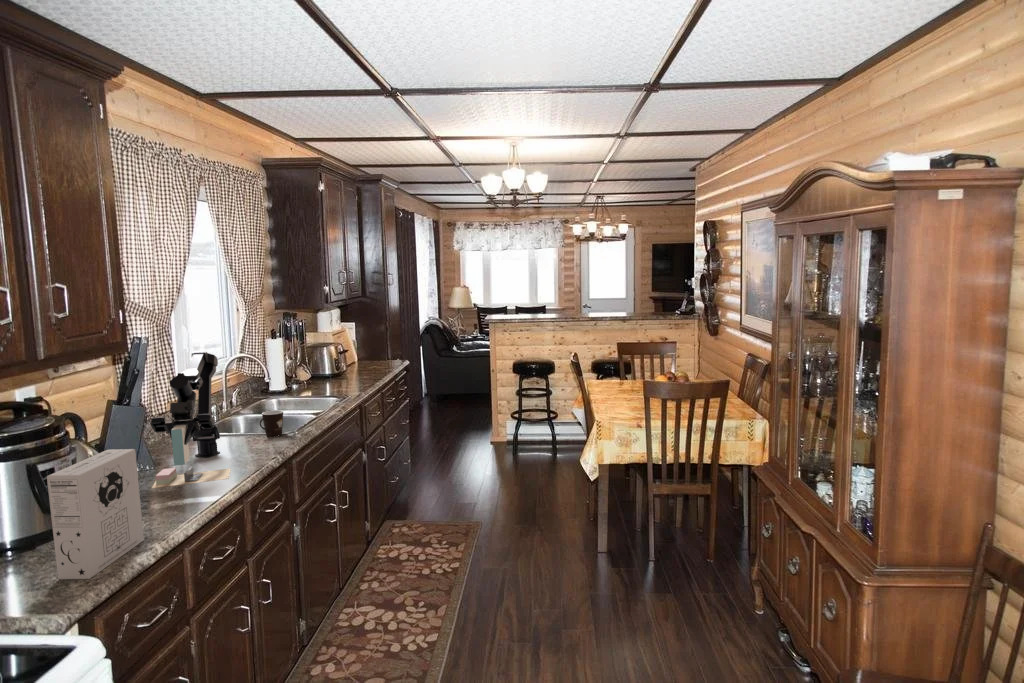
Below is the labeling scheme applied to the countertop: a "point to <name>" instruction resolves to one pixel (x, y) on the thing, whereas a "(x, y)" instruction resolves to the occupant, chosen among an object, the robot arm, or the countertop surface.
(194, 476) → the metal bookend
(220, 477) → the shelf plank
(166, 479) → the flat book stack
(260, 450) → the countertop surface
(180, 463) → the boxed book
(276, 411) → the coffee mug
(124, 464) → the cereal box
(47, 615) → the countertop surface
